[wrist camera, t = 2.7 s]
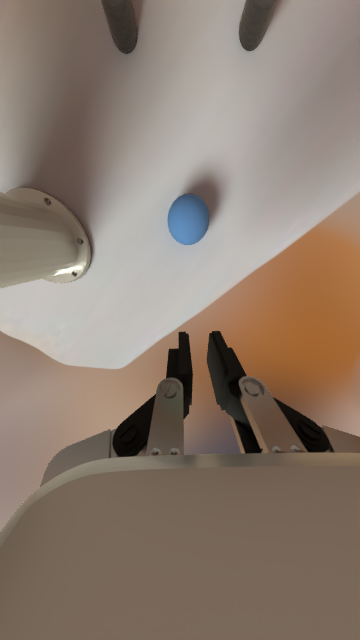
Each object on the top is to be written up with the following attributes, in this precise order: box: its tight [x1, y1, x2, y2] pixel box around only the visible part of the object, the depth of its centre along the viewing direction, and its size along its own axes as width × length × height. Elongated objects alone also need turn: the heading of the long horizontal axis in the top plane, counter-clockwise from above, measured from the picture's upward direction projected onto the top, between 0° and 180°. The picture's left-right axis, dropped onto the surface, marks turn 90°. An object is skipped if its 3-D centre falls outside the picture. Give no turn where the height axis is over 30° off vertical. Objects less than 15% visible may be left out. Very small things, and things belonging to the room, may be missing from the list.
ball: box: [168, 194, 209, 245], centre depth 19 cm, size 6×6×6 cm
